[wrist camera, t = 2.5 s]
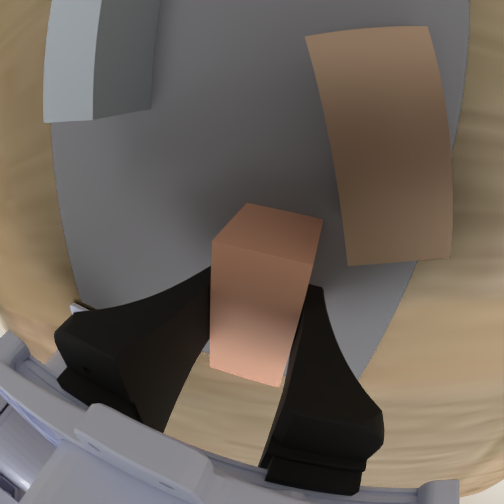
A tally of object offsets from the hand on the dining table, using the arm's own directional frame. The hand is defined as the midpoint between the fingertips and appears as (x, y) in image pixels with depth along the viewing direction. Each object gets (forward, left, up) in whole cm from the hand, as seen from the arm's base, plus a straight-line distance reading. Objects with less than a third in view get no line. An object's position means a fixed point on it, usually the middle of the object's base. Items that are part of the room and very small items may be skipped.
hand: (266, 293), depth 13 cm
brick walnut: (+7, -3, -1) cm, 8 cm away
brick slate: (+10, +8, -1) cm, 13 cm away
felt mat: (+5, +4, -2) cm, 7 cm away
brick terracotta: (0, 0, -1) cm, 1 cm away
